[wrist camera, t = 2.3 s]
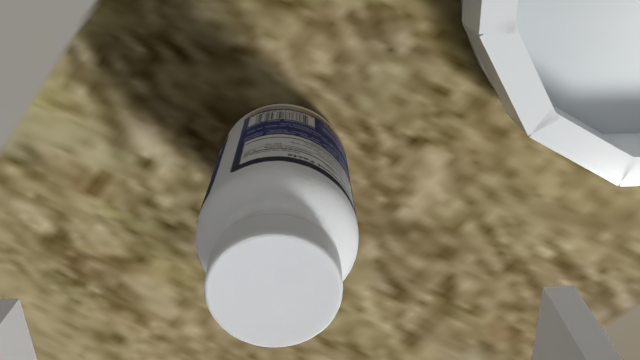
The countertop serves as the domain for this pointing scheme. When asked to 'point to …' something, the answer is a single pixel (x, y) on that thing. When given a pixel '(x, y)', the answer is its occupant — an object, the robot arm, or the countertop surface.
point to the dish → (566, 75)
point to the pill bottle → (277, 227)
